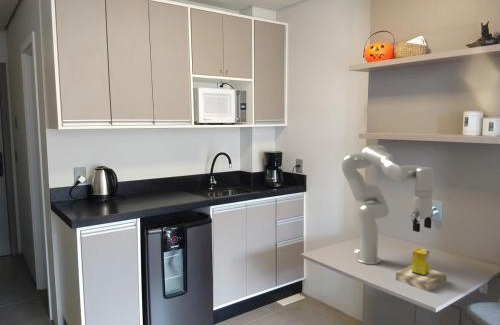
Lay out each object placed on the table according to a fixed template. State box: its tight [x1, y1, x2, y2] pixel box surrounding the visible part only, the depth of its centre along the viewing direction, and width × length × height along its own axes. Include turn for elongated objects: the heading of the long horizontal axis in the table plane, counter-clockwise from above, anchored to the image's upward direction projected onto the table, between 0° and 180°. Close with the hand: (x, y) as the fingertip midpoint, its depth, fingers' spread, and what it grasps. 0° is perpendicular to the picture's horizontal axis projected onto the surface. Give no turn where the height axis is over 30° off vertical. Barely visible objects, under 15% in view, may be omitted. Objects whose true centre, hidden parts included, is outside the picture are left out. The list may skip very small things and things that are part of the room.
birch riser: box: [395, 264, 447, 292], centre depth 181 cm, size 16×16×4 cm
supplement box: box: [411, 247, 430, 276], centre depth 180 cm, size 6×6×11 cm
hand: (421, 229), depth 178 cm, fingers open, 9 cm apart
